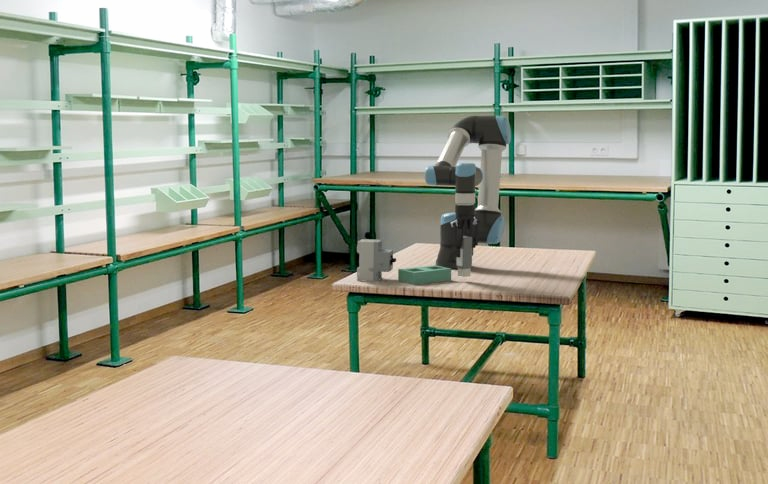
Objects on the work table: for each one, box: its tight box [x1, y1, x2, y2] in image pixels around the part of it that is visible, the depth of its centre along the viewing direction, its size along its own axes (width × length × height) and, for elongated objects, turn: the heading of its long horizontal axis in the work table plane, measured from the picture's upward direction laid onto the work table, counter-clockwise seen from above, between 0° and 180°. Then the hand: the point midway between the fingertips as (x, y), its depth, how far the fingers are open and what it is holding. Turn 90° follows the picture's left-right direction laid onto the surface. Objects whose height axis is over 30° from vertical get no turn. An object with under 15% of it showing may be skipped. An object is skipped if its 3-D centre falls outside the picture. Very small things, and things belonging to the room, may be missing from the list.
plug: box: [457, 236, 473, 278], centre depth 327 cm, size 4×4×15 cm
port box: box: [397, 264, 452, 286], centre depth 330 cm, size 18×10×4 cm, turn 125°
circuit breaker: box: [356, 238, 397, 282], centre depth 331 cm, size 8×14×15 cm, turn 78°
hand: (464, 264), depth 328 cm, fingers closed on plug, 4 cm apart
